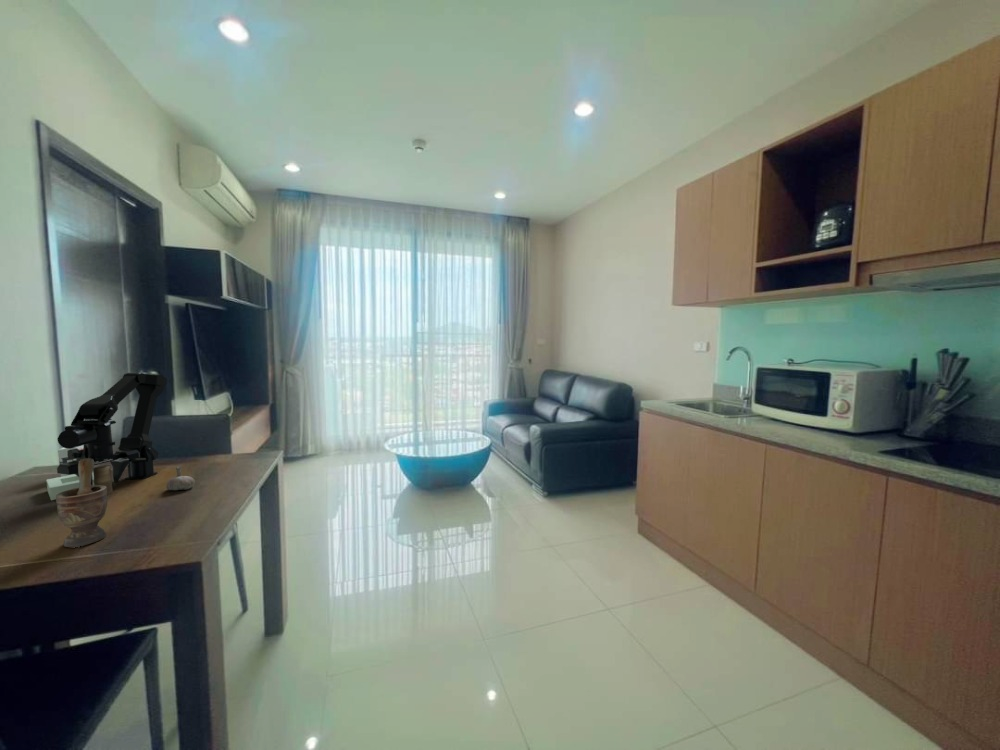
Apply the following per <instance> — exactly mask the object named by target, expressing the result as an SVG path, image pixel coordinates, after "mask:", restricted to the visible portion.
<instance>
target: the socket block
mask: <svg viewBox="0 0 1000 750" xmlns="http://www.w3.org/2000/svg"><path fill="white" fill-rule="evenodd" d="M92 486H94V477H93V484H92ZM46 487H47V488H46V490H47V493H48V496H49V499H50V501H54V500H56V495H57V494H59V493H61V492H64V491H67V490H70V489H74V488H79V477H78V476H77V475H75V474H74V475H69V476H63V477H61V476H59V477H54V478H48V479H46Z"/></svg>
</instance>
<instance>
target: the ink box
mask: <svg viewBox="0 0 1000 750" xmlns="http://www.w3.org/2000/svg"><path fill="white" fill-rule="evenodd" d="M76 448H78V450H82V449H84V445H82V446H78V447H75V448H71V449H76ZM71 449H67V448H64V447H61V448H58V449H57V453H58V464H59V465H60V464H63V463H68V462H72V461H77V460H76V459H72V460H69V459H68V452H67V451H68V450H71ZM79 462H80V461H79ZM59 465H58V466H59ZM59 475H60V477H63V476H69V475H66V474H59ZM72 475H74V474H72Z"/></svg>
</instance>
